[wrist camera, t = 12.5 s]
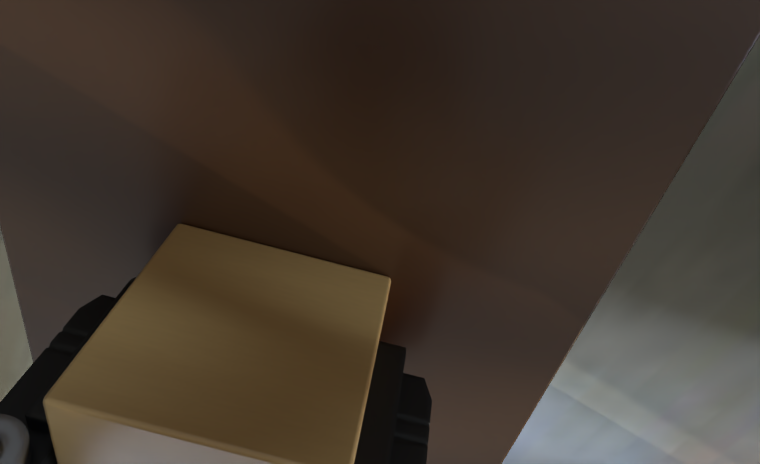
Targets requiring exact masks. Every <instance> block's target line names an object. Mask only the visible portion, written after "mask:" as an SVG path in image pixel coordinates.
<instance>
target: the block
mask: <svg viewBox="0 0 760 464" xmlns="http://www.w3.org/2000/svg"><path fill="white" fill-rule="evenodd" d="M390 286H391V279H390V278H389V277H387V276H384V275H380V274H376V273H372V272H368V271H364V270H360V269H356V268H353V267H349V266H345V265H341V264H337V263H333V262H329V261H325V260H322V259H318V258H314V257H310V256H306V255H302V254H298V253H294V252H291V251H287V250H283V249H279V248H275V247H271V246H267V245H263V244H260V243H256V242H252V241H248V240H244V239H240V238H236V237H232V236H228V235H225V234H221V233H217V232H213V231H209V230H205V229H201V228H197V227H194V226H190V225H186V224H182V223H180V224H177V225H176V227H175V228H174V229H173V231H172V232H171V233H170V235H169V236H168V237H167V238H166V240H165V241H164V242H163V244H162V245H161V246H160V248H159V249H158V250H157V251H156V253H155V254H154V255H153V257H152V258H151V259H150V260H149V262H148V263H147V264H146V266H145V267H144V268H143V270H142V271H141V272H140V273H139V275H138V276H137V277H136V279H135V280H134V281H133V283H132V284H131V285H130V286H129V288H128V289H127V290H126V292H125V293H124V294H123V296H122V297H121V298H120V299H119V301H118V302H117V303H116V305H115V306H114V307H113V308H112V310H111V311H110V312H109V314H108V315H107V316H106V318H105V319H104V320H103V321H102V323H101V324H100V325H99V327H98V328H97V329H96V331H95V332H94V333H93V334H92V336H91V337H90V338H89V340H88V341H87V342H86V344H85V345H84V346H83V347H82V349H81V350H80V351H79V353H78V354H77V355H76V357H75V358H74V359H73V360H72V362H71V363H70V364H69V366H68V367H67V368H66V369H65V371H64V372H63V373H62V375H61V376H60V377H59V379H58V380H57V381H56V382H55V384H54V385H53V386H52V388H51V389H50V390H49V392H48V393H47V394H46V395H45V397H44V399H43V407H44V411H45V415H46V419H47V423H48V427H49V431H50V435H51V440H52V444H53V448H54V452H55V456H56V460H57V464H354V462H355V457H356V452H357V447H358V442H359V437H360V432H361V427H362V422H363V418H364V413H365V408H366V403H367V398H368V393H369V388H370V383H371V378H372V374H373V369H374V364H375V359H376V354H377V349H378V344H379V339H380V334H381V330H382V325H383V320H384V315H385V310H386V305H387V300H388V295H389V290H390Z"/></svg>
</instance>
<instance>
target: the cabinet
mask: <svg viewBox="0 0 760 464" xmlns="http://www.w3.org/2000/svg"><path fill="white" fill-rule="evenodd" d="M759 36H760V0H0V226H1V231H2V235H3V239H4V243H5V247H6V251H7V256H8V260H9V264H10V268H11V272H12V276H13V280H14V285H15V289H16V293H17V297H18V301H19V305H20V310H21V314H22V318H23V322H24V326H25V330H26V334H27V339H28V343H29V347H30V351H31V355H32V359H33V363H34V362H35V360H36V359H37V358H38V357H39V356H40V354H41V353H42V352H43V351H44V350H45V349H46V347H47V348H48V347H49V345H50V343H51V341H52V340H53V339H54V338H55V337H56V335H57V334H58V333H59V332H62V330H63V327H64V326H65V325H66V323H67V322H68V321H69V320H70V319H71V317H72V316H73V315H74V314H75V313H76V311H77V310H78V309H79V308H81V307H82V306H84V305H86V304H87V303H89V302H91V301H92V300H94V299H96V298H97V297H99V296H101V295H106V296H110V297H114V298H116V297H117V296H118V294H119V293H120V292H121V291H122V289H123V288H124V287H125V285H126V284H127V283H128V282H129V281H130V280H131V279H132V278H134V277H137V276H138V275H139V273H140V272H141V271H142V270H143V268H144V267H145V266H146V264H147V263H148V262H149V260H150V259H151V258H152V257H153V255H154V254H155V253H156V251H157V250H158V249H159V248H160V246H161V245H162V244H163V242H164V241H165V240H166V238H167V237H168V236H169V235H170V233H171V232H172V231H173V229H174V228H175V227H176V225H177V224H180V223H182V224H186V225H190V226H194V227H197V228H201V229H205V230H209V231H213V232H217V233H221V234H225V235H228V236H232V237H236V238H240V239H244V240H248V241H252V242H256V243H260V244H263V245H267V246H271V247H275V248H279V249H283V250H287V251H291V252H294V253H298V254H302V255H306V256H310V257H314V258H318V259H322V260H325V261H329V262H333V263H337V264H341V265H345V266H349V267H353V268H356V269H360V270H364V271H368V272H372V273H376V274H380V275H384V276H387V277H389V278H390V279H391V286H390V290H389V295H388V300H387V305H386V310H385V315H384V320H383V325H382V330H381V334H380V339H379V341H383V342H387V343H390V344H394V345H398V346H402V347H406V357H405V364H404V371H403V373H406V374H410V375H414V376H418V377H422V378H425V381H426V384H427V387H428V390H429V393H430V396H431V399H432V407H431V418H430V425H429V428H430V429H429V440H428V445H427V446H428V451H427V462H426V464H502V462H503V460H504V459H505V457H506V455H507V454H508V452H509V450H510V449H511V447H512V445H513V444H514V442H515V440H516V439H517V437H518V435H519V434H520V432H521V431H522V429H523V427H524V426H525V424H526V422H527V421H528V419H529V417H530V416H531V414H532V412H533V411H534V409H535V407H536V406H537V404H538V402H539V401H540V399H541V397H542V396H543V394H544V392H545V391H546V389H547V387H548V386H549V384H550V382H551V381H552V379H553V377H554V376H555V374H556V372H557V371H558V369H559V367H560V366H561V364H562V363H563V361H564V359H565V358H566V356H567V354H568V353H569V351H570V349H571V348H572V346H573V344H574V343H575V341H576V339H577V338H578V336H579V334H580V333H581V331H582V329H583V328H584V326H585V324H586V323H587V321H588V319H589V318H590V316H591V314H592V313H593V311H594V309H595V308H596V306H597V304H598V303H599V301H600V299H601V298H602V296H603V294H604V293H605V291H606V290H607V288H608V286H609V285H610V283H611V281H612V280H613V278H614V276H615V275H616V273H617V271H618V270H619V268H620V266H621V265H622V263H623V261H624V260H625V258H626V256H627V255H628V253H629V251H630V250H631V248H632V246H633V245H634V243H635V241H636V240H637V238H638V236H639V235H640V233H641V231H642V230H643V228H644V226H645V225H646V223H647V221H648V220H649V218H650V217H651V215H652V213H653V212H654V210H655V208H656V207H657V205H658V203H659V202H660V200H661V198H662V197H663V195H664V193H665V192H666V190H667V188H668V187H669V185H670V183H671V182H672V180H673V178H674V177H675V175H676V173H677V172H678V170H679V168H680V167H681V165H682V163H683V162H684V160H685V158H686V157H687V155H688V153H689V152H690V150H691V148H692V147H693V145H694V144H695V142H696V140H697V139H698V137H699V135H700V134H701V132H702V130H703V129H704V127H705V125H706V124H707V122H708V120H709V119H710V117H711V115H712V114H713V112H714V110H715V109H716V107H717V105H718V104H719V102H720V100H721V99H722V97H723V95H724V94H725V92H726V90H727V89H728V87H729V85H730V84H731V82H732V80H733V79H734V77H735V75H736V74H737V72H738V71H739V69H740V67H741V66H742V64H743V62H744V61H745V59H746V57H747V56H748V54H749V52H750V51H751V49H752V47H753V46H754V44H755V42H756V41H757V39H758V37H759Z"/></svg>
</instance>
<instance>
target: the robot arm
mask: <svg viewBox="0 0 760 464" xmlns="http://www.w3.org/2000/svg"><path fill="white" fill-rule="evenodd" d="M135 279H136V277H134V278H132V279H131V280H130V281H129V282H128V283H127V284H126V285H125V287H124V288H123V289H122V291H121V292H120V293H119V294H118V296H117V297H116V298H114V297H110V296H106V295H101V296H99V297H97V298H96V299H94V300H92V301H91V302H89V303H87V304H86V305H84V306H82V307H81V308H79V309H78V310H77V311H76V313H75V314H74V315H73V316H72V317H71V319H70V320H69V321H68V322H67V323H66V325H65V326H64V327H63V330H62V332H59V333H58V334H57V335H56V337H55V338H54V339H53V340H52V341H51V343H50V345H49V347H48V348H47V347H46V349H45V350H44V351H43V352H42V353H41V354H40V356H39V357H38V358H37V359H36V360H35V362H34V363H33V364H32V365H31V366H30V368H29V369H28V370H27V371H26V372H25V374H24V375H23V376H22V377H21V378H20V380H19V381H18V382H17V383H16V384H15V386H14V387H13V388H12V389H11V390H10V392H9V393H8V394H7V395H6V396H5V397H4V399H3V400H2V401H1V402H0V464H57V460H56V456H55V452H54V448H53V444H52V440H51V435H50V431H49V427H48V423H47V419H46V415H45V411H44V407H43V399H44V397H45V395H46V394H47V393H48V392H49V390H50V389H51V388H52V386H53V385H54V384H55V382H56V381H57V380H58V379H59V377H60V376H61V375H62V373H63V372H64V371H65V369H66V368H67V367H68V366H69V364H70V363H71V362H72V360H73V359H74V358H75V357H76V355H77V354H78V353H79V351H80V350H81V349H82V347H83V346H84V345H85V344H86V342H87V341H88V340H89V338H90V337H91V336H92V334H93V333H94V332H95V331H96V329H97V328H98V327H99V325H100V324H101V323H102V321H103V320H104V319H105V318H106V316H107V315H108V314H109V312H110V311H111V310H112V308H113V307H114V306H115V305H116V303H117V302H118V301H119V299H120V298H121V297H122V296H123V294H124V293H125V292H126V290H127V289H128V288H129V286H130V285H131V284H132V283H133V281H134V280H135ZM405 357H406V347H402V346H398V345H394V344H390V343H387V342H383V341H379V344H378V349H377V354H376V359H375V364H374V369H373V374H372V378H371V383H370V388H369V393H368V398H367V403H366V408H365V413H364V418H363V422H362V427H361V432H360V437H359V442H358V447H357V452H356V457H355V462H354V464H426V462H427V451H428V446H427V445H428V440H429V429H430V428H429V425H430V418H431V407H432V399H431V396H430V393H429V390H428V387H427V384H426V381H425V378H422V377H418V376H414V375H410V374H406V373H403V371H404V364H405Z"/></svg>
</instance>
